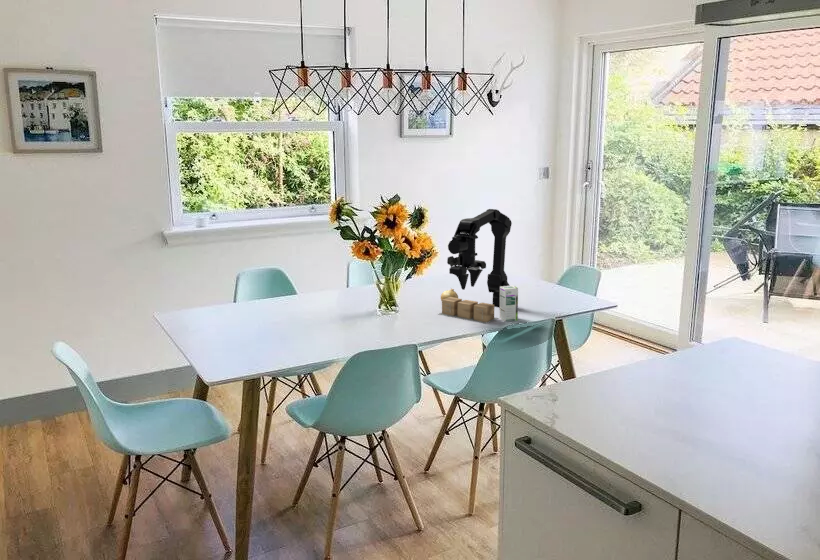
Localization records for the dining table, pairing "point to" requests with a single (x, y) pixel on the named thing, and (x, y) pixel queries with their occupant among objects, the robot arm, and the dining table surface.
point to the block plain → (466, 309)
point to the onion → (449, 294)
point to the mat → (466, 318)
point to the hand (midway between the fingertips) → (467, 288)
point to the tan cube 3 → (450, 306)
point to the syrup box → (509, 303)
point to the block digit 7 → (484, 312)
